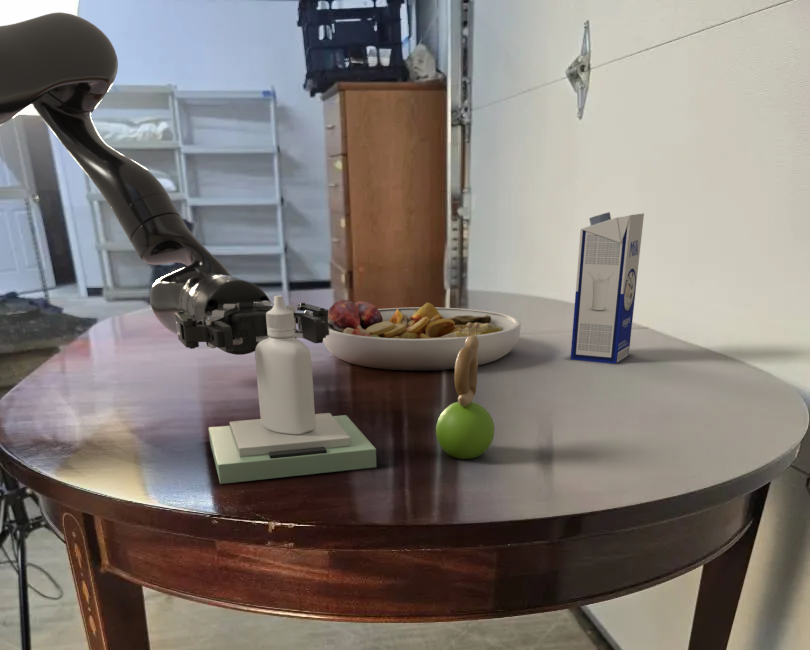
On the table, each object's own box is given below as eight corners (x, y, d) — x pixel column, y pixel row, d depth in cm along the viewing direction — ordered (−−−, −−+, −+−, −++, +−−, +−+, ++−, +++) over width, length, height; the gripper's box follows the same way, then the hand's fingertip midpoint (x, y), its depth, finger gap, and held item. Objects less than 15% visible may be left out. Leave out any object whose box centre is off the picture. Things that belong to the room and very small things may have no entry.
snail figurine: (497, 447, 76) (503, 322, 71) (489, 469, 70) (494, 334, 65) (443, 444, 77) (444, 321, 72) (430, 465, 71) (431, 332, 66)
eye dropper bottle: (302, 418, 76) (293, 291, 71) (319, 433, 71) (311, 298, 66) (258, 423, 74) (246, 294, 69) (273, 439, 70) (261, 301, 65)
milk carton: (615, 365, 110) (631, 213, 101) (569, 361, 113) (581, 213, 104) (628, 356, 115) (644, 211, 107) (584, 352, 118) (597, 211, 110)
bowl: (522, 339, 129) (525, 290, 126) (514, 379, 102) (517, 318, 99) (348, 335, 134) (346, 288, 131) (296, 373, 107) (292, 315, 104)
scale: (220, 486, 67) (216, 455, 66) (210, 446, 77) (207, 419, 76) (376, 469, 70) (376, 440, 69) (347, 433, 81) (346, 407, 80)
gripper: (156, 280, 79) (191, 297, 66) (289, 272, 85) (346, 287, 71) (166, 354, 82) (202, 385, 69) (293, 342, 88) (349, 369, 74)
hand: (275, 335), depth 70 cm, fingers open, 8 cm apart
